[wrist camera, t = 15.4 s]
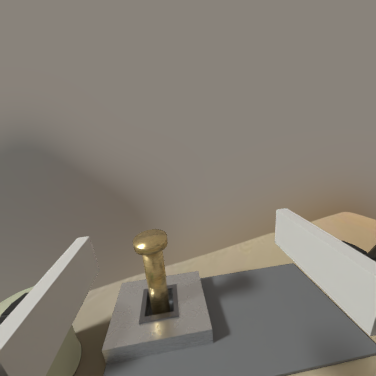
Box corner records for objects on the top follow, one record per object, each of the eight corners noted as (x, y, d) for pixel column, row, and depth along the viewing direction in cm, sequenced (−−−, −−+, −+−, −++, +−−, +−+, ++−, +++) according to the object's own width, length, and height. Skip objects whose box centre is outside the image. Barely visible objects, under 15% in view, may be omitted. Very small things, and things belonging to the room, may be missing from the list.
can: (4, 372, 26) (-31, 311, 23) (74, 325, 32) (55, 271, 29) (-2, 446, 19) (-52, 376, 16) (88, 370, 25) (66, 307, 22)
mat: (293, 265, 42) (293, 263, 42) (382, 353, 24) (383, 351, 24) (126, 292, 38) (125, 290, 38) (93, 419, 21) (92, 416, 21)
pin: (175, 300, 35) (166, 227, 30) (177, 327, 30) (166, 245, 25) (149, 304, 34) (135, 231, 29) (146, 333, 29) (129, 250, 25)
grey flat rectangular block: (199, 282, 38) (198, 269, 37) (213, 343, 27) (212, 327, 26) (124, 294, 37) (121, 281, 36) (106, 364, 25) (101, 348, 25)
